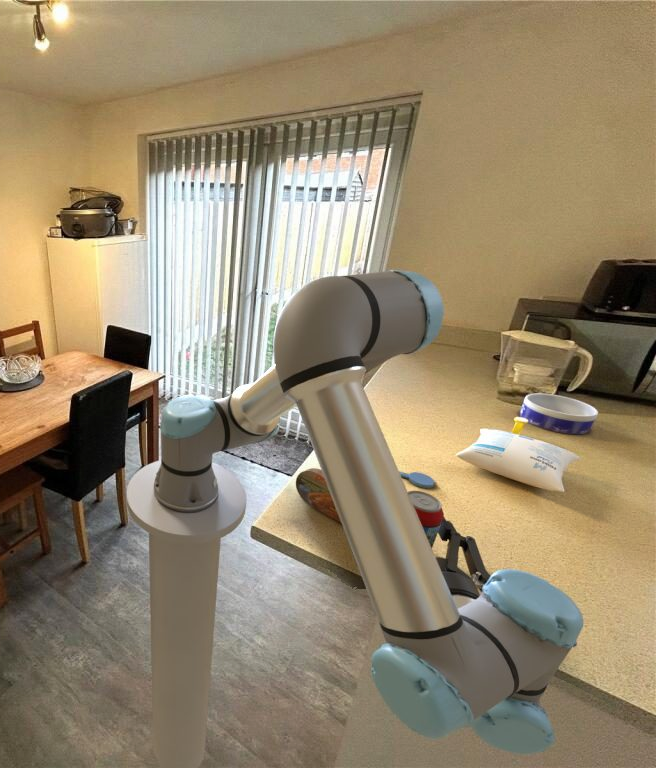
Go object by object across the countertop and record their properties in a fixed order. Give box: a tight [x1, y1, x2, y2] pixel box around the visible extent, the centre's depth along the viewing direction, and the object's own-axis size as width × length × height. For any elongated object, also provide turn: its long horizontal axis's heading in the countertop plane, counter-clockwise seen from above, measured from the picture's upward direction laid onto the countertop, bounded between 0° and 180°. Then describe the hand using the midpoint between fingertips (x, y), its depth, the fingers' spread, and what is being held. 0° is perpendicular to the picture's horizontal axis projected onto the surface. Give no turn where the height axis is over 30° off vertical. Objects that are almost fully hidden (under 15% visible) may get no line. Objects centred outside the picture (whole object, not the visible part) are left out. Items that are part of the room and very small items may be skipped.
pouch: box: [455, 428, 581, 493], centre depth 95 cm, size 8×19×20 cm
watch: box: [511, 416, 529, 435], centre depth 108 cm, size 6×3×6 cm, turn 129°
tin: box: [295, 467, 342, 524], centre depth 83 cm, size 15×3×8 cm, turn 37°
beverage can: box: [407, 490, 445, 549], centre depth 72 cm, size 7×7×12 cm
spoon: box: [399, 471, 435, 489], centre depth 96 cm, size 19×5×1 cm, turn 53°
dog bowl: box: [519, 392, 599, 435], centre depth 116 cm, size 15×15×6 cm
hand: (407, 506), depth 76 cm, fingers open, 8 cm apart
